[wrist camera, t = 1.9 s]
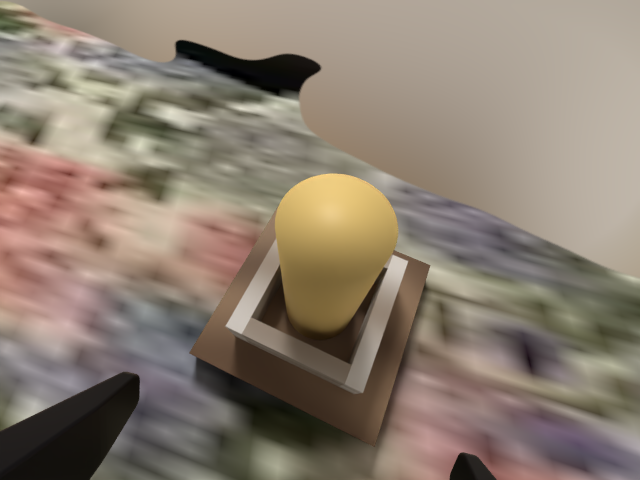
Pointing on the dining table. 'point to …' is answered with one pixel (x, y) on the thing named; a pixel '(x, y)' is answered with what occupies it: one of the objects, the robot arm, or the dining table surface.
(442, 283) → the dining table surface
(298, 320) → the post
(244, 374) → the stand
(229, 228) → the dining table surface
